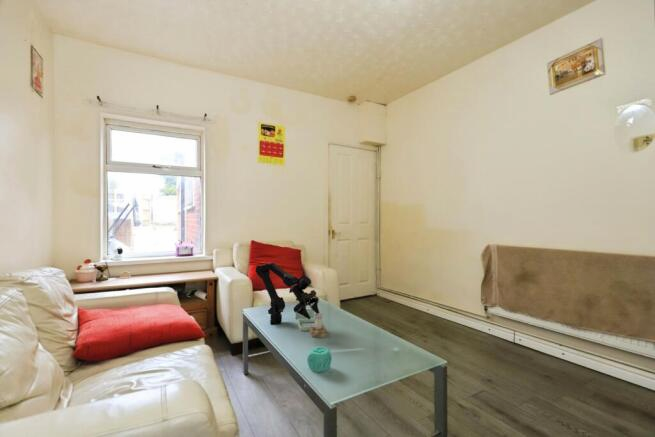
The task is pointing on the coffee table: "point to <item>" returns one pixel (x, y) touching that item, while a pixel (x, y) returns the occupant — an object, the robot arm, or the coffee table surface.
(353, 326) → the coffee table surface
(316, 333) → the tan square frame block
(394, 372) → the coffee table surface
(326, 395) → the coffee table surface
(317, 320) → the ball
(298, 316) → the right angle wall
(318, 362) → the decorative dice
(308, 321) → the parts tray
